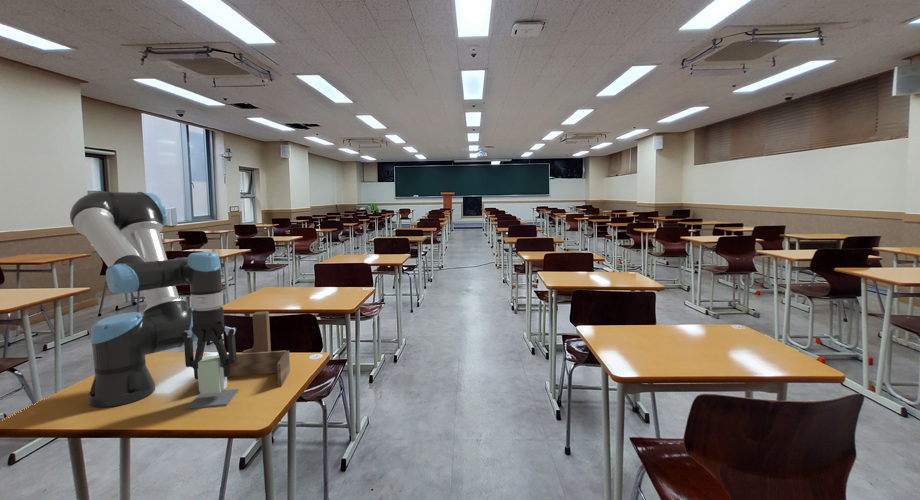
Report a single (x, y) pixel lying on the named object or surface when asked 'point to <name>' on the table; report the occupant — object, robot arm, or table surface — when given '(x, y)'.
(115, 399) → the robot arm
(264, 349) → the wooden block
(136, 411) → the table surface
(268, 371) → the cubby
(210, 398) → the mat
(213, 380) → the block
